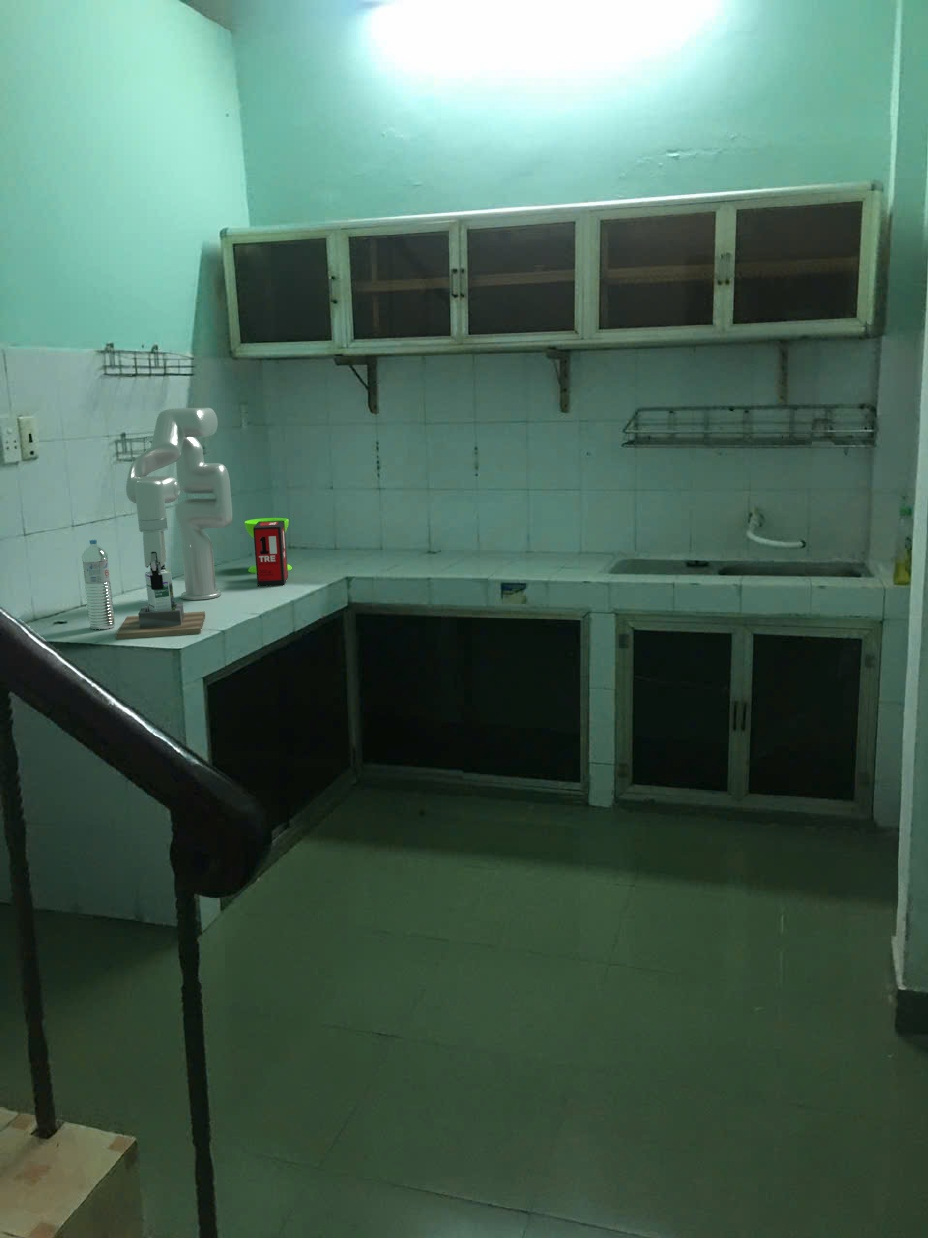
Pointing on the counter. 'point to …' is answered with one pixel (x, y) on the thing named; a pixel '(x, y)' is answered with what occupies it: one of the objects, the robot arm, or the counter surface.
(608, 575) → the counter surface
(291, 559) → the counter surface
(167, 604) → the syrup box
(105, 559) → the water bottle
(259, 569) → the cleaning product box
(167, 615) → the socket board
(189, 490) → the robot arm
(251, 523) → the wineglass
